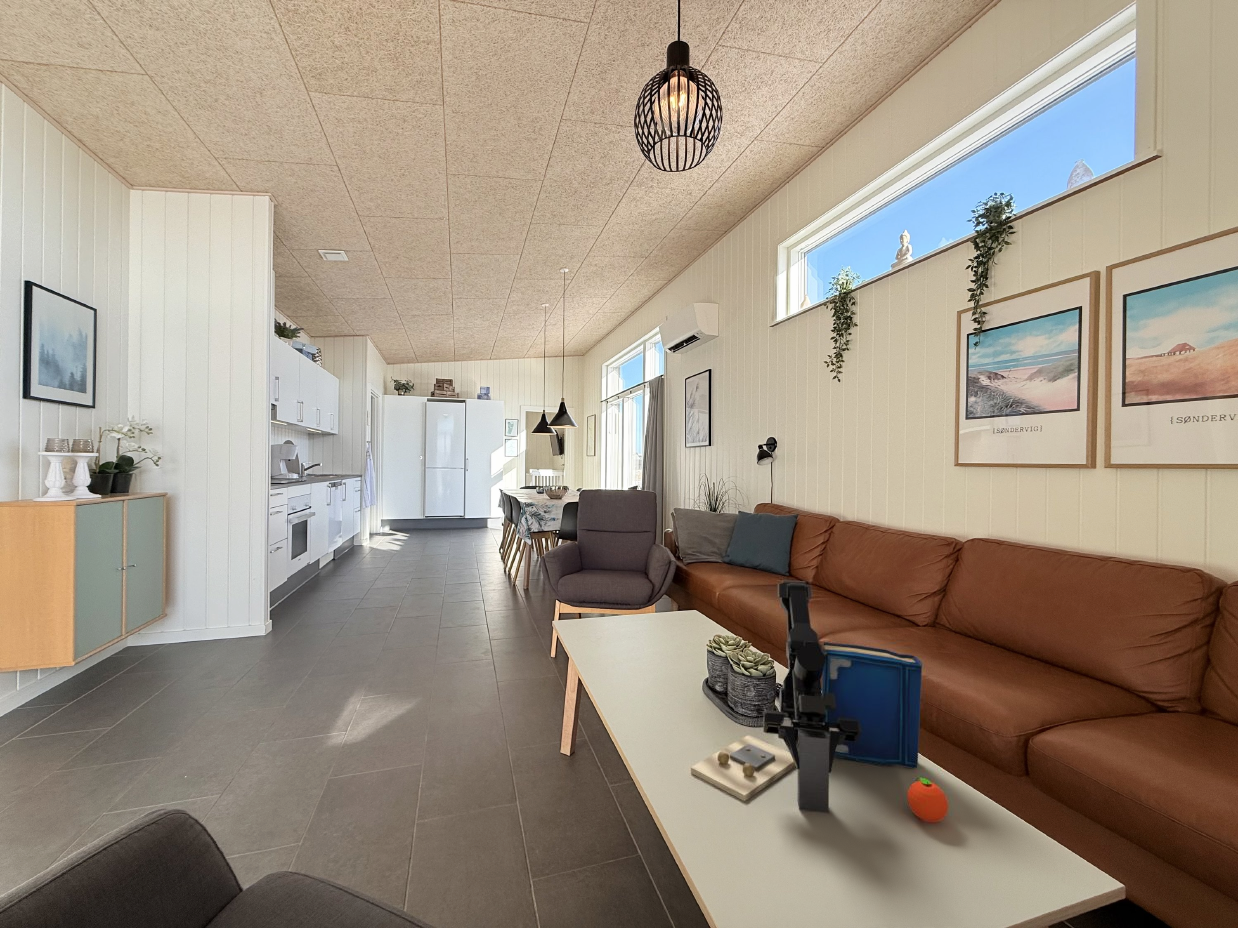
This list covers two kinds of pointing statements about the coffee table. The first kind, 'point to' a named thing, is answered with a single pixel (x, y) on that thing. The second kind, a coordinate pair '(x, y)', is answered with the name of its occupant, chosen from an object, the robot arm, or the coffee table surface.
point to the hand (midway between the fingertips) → (814, 770)
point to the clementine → (927, 801)
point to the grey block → (813, 771)
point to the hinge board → (736, 769)
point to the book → (875, 702)
